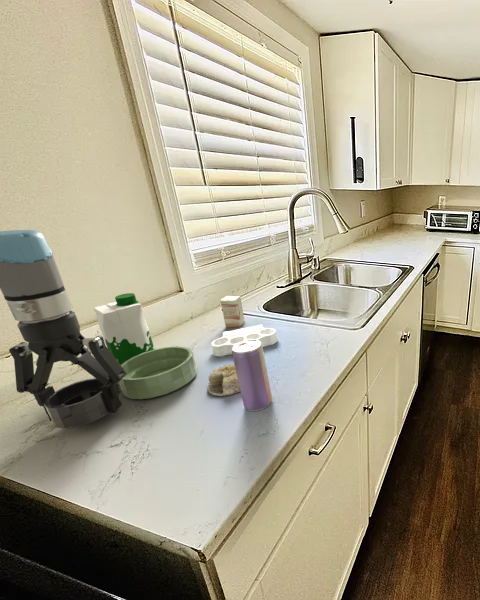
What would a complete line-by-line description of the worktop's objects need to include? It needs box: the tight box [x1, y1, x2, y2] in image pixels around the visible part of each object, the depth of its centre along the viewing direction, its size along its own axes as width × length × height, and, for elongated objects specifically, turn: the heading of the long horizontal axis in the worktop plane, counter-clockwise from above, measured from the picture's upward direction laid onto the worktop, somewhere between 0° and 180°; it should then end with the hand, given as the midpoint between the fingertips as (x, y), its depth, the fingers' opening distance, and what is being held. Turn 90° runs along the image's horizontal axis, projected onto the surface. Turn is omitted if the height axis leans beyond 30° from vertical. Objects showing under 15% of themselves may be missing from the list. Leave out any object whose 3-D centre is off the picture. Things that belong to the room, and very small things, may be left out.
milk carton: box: [93, 292, 155, 365], centre depth 86 cm, size 9×9×20 cm
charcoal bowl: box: [44, 377, 110, 430], centre depth 67 cm, size 10×10×6 cm
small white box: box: [220, 295, 246, 328], centre depth 112 cm, size 5×4×10 cm
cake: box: [206, 363, 241, 397], centre depth 80 cm, size 10×10×5 cm
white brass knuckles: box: [210, 324, 278, 358], centre depth 100 cm, size 3×18×15 cm
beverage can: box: [232, 340, 273, 412], centre depth 71 cm, size 6×6×15 cm
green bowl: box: [118, 345, 198, 400], centre depth 81 cm, size 15×15×6 cm
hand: (87, 412), depth 68 cm, fingers closed on charcoal bowl, 10 cm apart
